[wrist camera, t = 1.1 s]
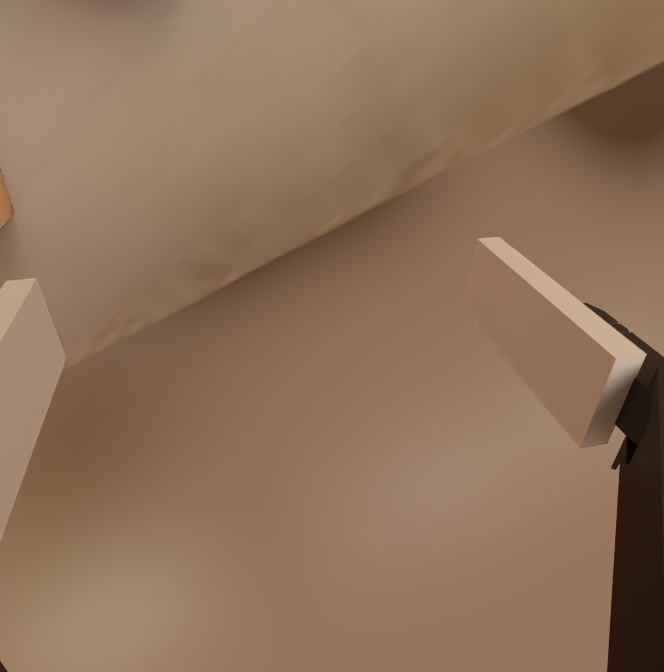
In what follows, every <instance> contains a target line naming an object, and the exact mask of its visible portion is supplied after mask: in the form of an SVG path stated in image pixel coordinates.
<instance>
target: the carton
mask: <svg viewBox="0 0 664 672" xmlns="http://www.w3.org/2000/svg"><path fill="white" fill-rule="evenodd" d="M13 213H14V211H13V208H12V205H11V202H10V199H9V195H8V192H7V189H6V186H5V183H4V180H3V176H2V173H1V170H0V228H1V227H2V226H3V225H4V224H5V222H6V221H7V220H8V219H9V218H10V216H11V215H12V214H13Z"/></svg>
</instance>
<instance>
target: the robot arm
mask: <svg viewBox="0 0 664 672" xmlns="http://www.w3.org/2000/svg"><path fill="white" fill-rule="evenodd" d="M464 312H465V313H466V315H468V317H469V318H470V319H471V320H472V322H473V323H474V324H475V325H476V326H477V327H478V329H479V330H480V331H481V332H482V333H483V335H484V336H485V337H486V338H487V339H488V340H489V342H490V343H491V344H492V345H493V346H494V347H495V349H496V350H497V351H498V352H499V353H500V355H501V356H502V357H503V358H504V359H505V360H506V361H507V363H508V364H509V365H510V366H511V367H512V369H513V370H514V371H515V372H516V373H517V375H518V376H519V377H520V378H521V379H522V380H523V382H524V383H525V384H526V385H527V386H528V387H529V389H530V390H531V391H532V392H533V393H534V394H535V396H536V397H537V398H538V399H539V400H540V402H541V403H542V404H543V405H544V406H545V408H546V409H547V410H548V411H549V412H550V413H551V415H552V416H553V417H554V418H555V419H556V420H557V422H558V423H559V424H560V425H561V426H562V428H563V429H564V430H565V431H566V432H567V433H568V434H569V436H570V437H571V438H572V439H573V440H574V442H575V443H576V444H577V445H578V446H579V447H580V448H584V447H590V446H596V445H601V444H607V443H608V441H609V438H610V436H611V434H612V432H613V429H614V427H615V425H616V426H617V427H618V428H619V429H620V430H621V431H622V432H623V433H624V434H625V435H626V437H625V439H624V441H623V443H622V445H621V448H620V450H619V452H618V454H617V456H616V459H615V460H614V463H613V465H612V467H611V468H612V469H615V470H616V469H617V467H618V465H619V464H620V471H619V487H618V504H617V521H616V536H615V552H614V569H613V586H612V602H611V618H610V635H609V650H608V651H609V652H608V667H607V672H664V357H663V356H661V355H660V354H659V353H658V352H656V351H655V350H654V349H653V348H651V347H650V346H649V345H647V344H646V343H645V342H643V341H642V340H641V339H640V338H638V337H637V336H635V335H634V334H633V333H632V332H630V333H629V330H628V329H627V328H625V327H624V326H623V325H621V324H618V322H617V321H616V320H615V319H614V318H612V317H611V316H610V315H608V314H607V313H606V312H605V311H603V310H600V309H598V308H596V307H594V306H592V305H589V304H587V303H581V302H580V301H579V300H578V299H577V298H575V297H574V296H573V295H571V294H570V293H569V292H568V291H567V290H565V289H564V288H563V287H561V286H560V285H559V284H557V283H556V282H555V281H554V280H553V279H551V278H550V277H549V276H548V275H546V274H545V273H544V272H543V271H541V270H540V269H539V268H538V267H536V266H535V265H534V264H532V263H531V262H530V261H529V260H527V259H526V258H525V257H524V256H522V255H521V254H520V253H519V252H517V251H516V250H515V249H514V248H512V247H511V246H510V245H509V244H507V243H506V242H505V241H504V240H502V239H501V238H500V237H491V238H480V239H477V242H476V248H475V254H474V260H473V265H472V270H471V276H470V282H469V288H468V293H467V299H466V305H465V310H464ZM65 360H66V357H65V355H64V352H63V349H62V346H61V344H60V341H59V338H58V335H57V333H56V330H55V327H54V324H53V322H52V319H51V316H50V313H49V311H48V308H47V305H46V302H45V300H44V297H43V294H42V291H41V289H40V286H39V283H38V280H37V278H33V279H22V280H11V281H6V282H5V284H4V285H3V287H2V288H1V290H0V540H1V537H2V535H3V532H4V529H5V527H6V524H7V521H8V518H9V515H10V513H11V510H12V507H13V504H14V502H15V499H16V496H17V493H18V491H19V487H20V485H21V482H22V479H23V477H24V474H25V471H26V468H27V466H28V463H29V460H30V457H31V454H32V452H33V449H34V446H35V443H36V441H37V438H38V435H39V432H40V429H41V426H42V424H43V421H44V418H45V416H46V413H47V410H48V407H49V405H50V402H51V399H52V396H53V394H54V391H55V388H56V385H57V382H58V380H59V377H60V374H61V371H62V369H63V366H64V363H65ZM0 672H7V670H6V669H5V667H4V666H3V664H2V663H1V661H0Z"/></svg>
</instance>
